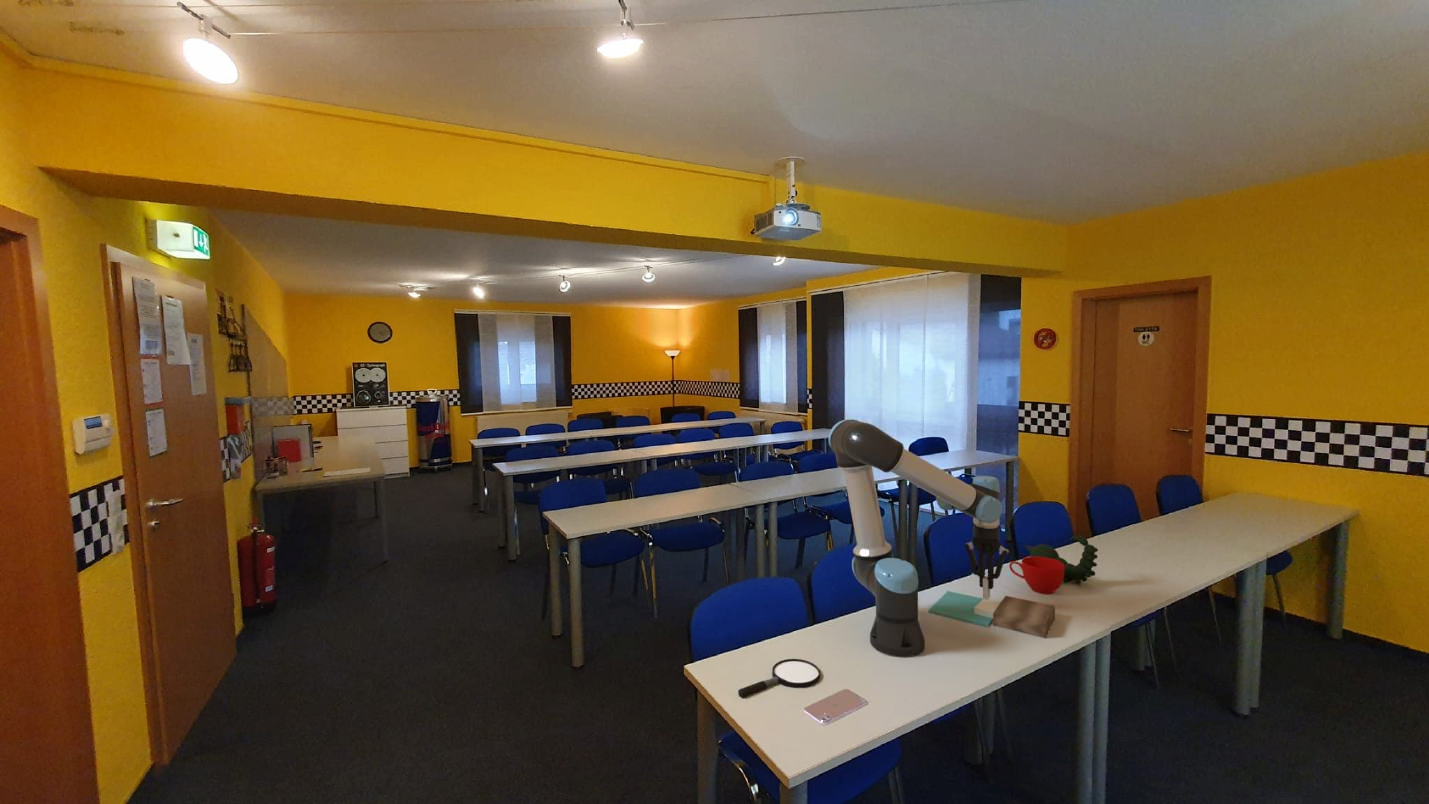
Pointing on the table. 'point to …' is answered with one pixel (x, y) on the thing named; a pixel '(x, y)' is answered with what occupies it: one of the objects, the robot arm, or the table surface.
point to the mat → (959, 608)
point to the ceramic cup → (1041, 573)
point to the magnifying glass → (786, 676)
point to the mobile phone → (834, 706)
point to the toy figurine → (1070, 570)
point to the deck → (1024, 616)
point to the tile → (986, 608)
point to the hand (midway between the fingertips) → (986, 597)
